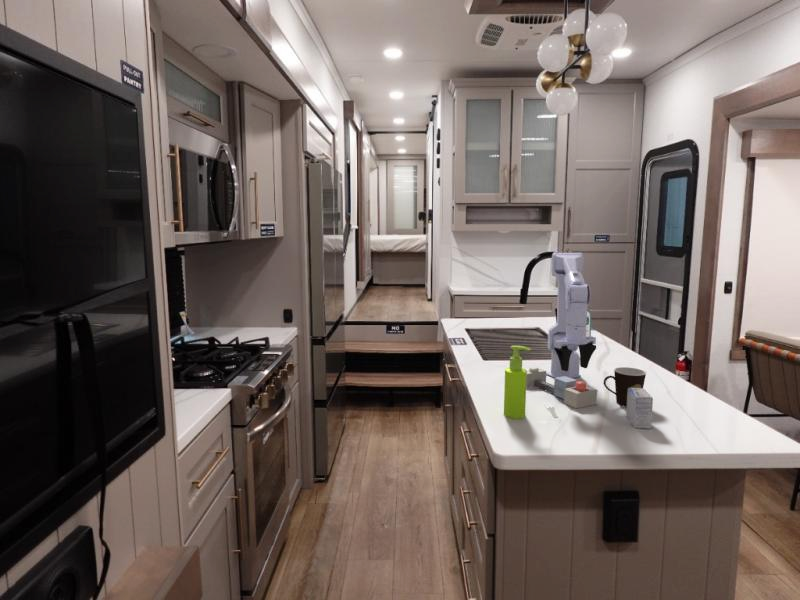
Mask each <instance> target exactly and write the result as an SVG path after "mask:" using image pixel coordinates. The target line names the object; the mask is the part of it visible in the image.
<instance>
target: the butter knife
mask: <svg viewBox="0 0 800 600" xmlns="http://www.w3.org/2000/svg"><path fill="white" fill-rule="evenodd" d="M546 409H547V410H548V411H549V412H550V414H551V416H552V417H553V418H554V419H559V416H558V415H557V413H556V411H555V406H554V407H552V408H551V407H549V408H546Z"/></svg>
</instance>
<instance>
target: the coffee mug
mask: <svg viewBox="0 0 800 600" xmlns="http://www.w3.org/2000/svg"><path fill="white" fill-rule="evenodd" d="M613 371H614V375H609V376H606V377H605V378H604V379H603V387H605V388H606V389H607V391H609V392H611V393H612V394H614V395H615V401H616V404H617V405H619V406H622V407H625V406H627V392H628V388H642V389H644V385H645V381H646V380H645V379H646V375H647V372H646V371H644V369H639V368H635V367H629V366H621V367H616V368H614V369H613ZM608 379H613V380H614V385H615V386H614V387H615V388H614V389H615V391H614V390H612V389H611V388H609V387H608V386H607V383H606V382H607V380H608Z"/></svg>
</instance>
